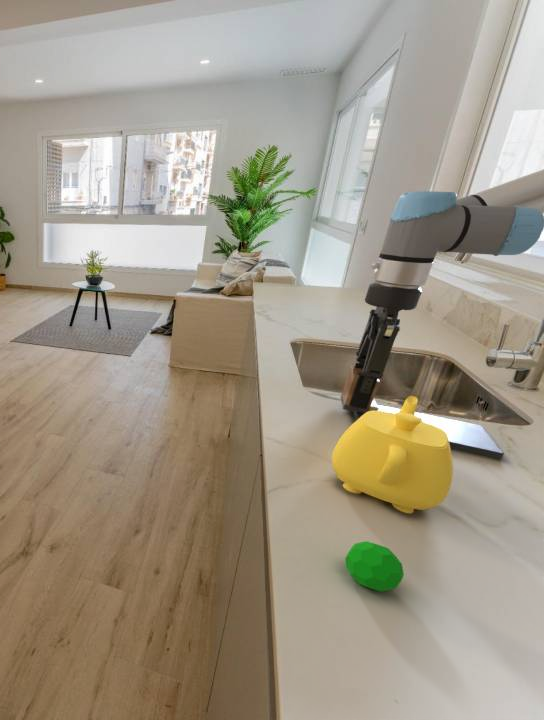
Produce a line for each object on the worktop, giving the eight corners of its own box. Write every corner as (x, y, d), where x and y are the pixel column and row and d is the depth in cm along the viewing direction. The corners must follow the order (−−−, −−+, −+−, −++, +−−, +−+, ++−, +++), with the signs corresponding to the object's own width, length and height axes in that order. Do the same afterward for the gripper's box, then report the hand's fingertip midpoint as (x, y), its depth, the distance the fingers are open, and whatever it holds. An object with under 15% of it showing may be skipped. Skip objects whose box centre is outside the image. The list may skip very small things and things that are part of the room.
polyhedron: (333, 560, 50) (345, 529, 49) (378, 567, 50) (393, 536, 48) (353, 596, 46) (367, 563, 44) (404, 605, 45) (420, 572, 43)
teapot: (439, 476, 67) (472, 406, 62) (436, 547, 53) (478, 464, 48) (339, 443, 75) (361, 379, 70) (313, 497, 61) (339, 422, 56)
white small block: (431, 422, 80) (433, 419, 79) (437, 432, 76) (439, 428, 76) (418, 420, 81) (419, 416, 80) (423, 429, 77) (424, 425, 77)
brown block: (363, 402, 87) (374, 370, 84) (367, 414, 82) (379, 381, 79) (340, 397, 88) (350, 366, 86) (342, 409, 84) (354, 376, 81)
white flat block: (374, 403, 87) (375, 400, 86) (377, 411, 83) (378, 407, 83) (362, 401, 88) (363, 397, 87) (365, 409, 84) (366, 405, 84)
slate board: (477, 432, 80) (480, 425, 79) (500, 461, 71) (504, 453, 70) (350, 405, 89) (352, 399, 88) (356, 428, 80) (359, 421, 79)
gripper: (364, 274, 85) (330, 379, 94) (378, 290, 70) (337, 414, 79) (411, 278, 82) (372, 387, 91) (437, 297, 66) (387, 425, 75)
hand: (355, 399), depth 85 cm, fingers closed on brown block, 6 cm apart
